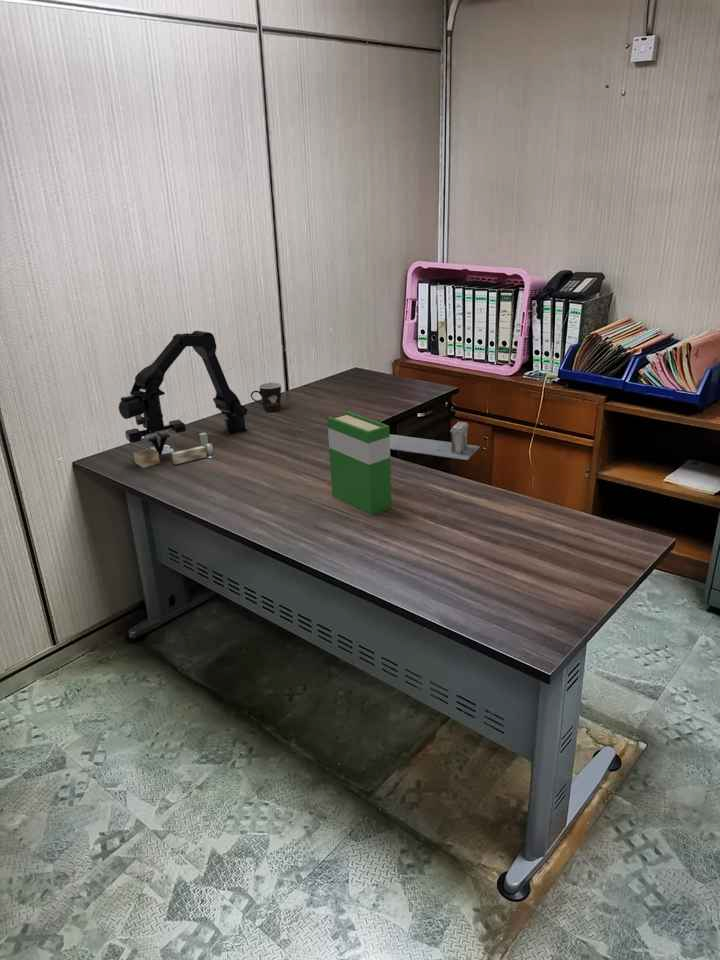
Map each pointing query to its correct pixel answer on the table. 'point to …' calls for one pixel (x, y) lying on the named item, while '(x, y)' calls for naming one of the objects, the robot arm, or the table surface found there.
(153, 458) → the oak block
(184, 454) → the gate rail
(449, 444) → the slab with upright peg
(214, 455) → the metal door knob
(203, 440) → the post
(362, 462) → the hardback book
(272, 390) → the coffee mug
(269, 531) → the table surface
